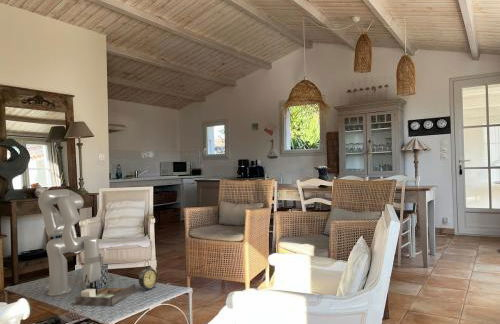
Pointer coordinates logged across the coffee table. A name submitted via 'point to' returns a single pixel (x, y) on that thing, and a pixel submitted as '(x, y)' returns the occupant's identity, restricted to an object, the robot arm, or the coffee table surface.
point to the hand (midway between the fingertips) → (93, 293)
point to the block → (88, 293)
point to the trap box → (107, 296)
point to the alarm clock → (147, 278)
